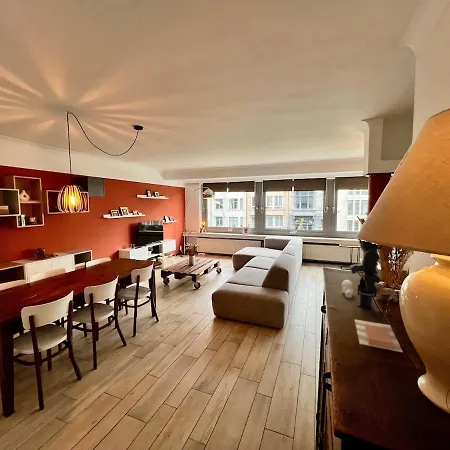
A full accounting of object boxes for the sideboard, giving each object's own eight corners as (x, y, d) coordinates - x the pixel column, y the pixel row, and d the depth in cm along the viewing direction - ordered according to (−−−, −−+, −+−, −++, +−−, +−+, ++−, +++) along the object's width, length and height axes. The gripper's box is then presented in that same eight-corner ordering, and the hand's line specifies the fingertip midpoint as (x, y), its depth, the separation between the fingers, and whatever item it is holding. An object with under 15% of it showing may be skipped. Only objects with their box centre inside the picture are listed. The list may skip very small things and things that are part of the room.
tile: (364, 324, 106) (368, 338, 95) (386, 328, 103) (393, 343, 92) (364, 330, 107) (368, 344, 96) (386, 334, 104) (392, 349, 93)
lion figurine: (370, 298, 145) (371, 283, 144) (369, 295, 150) (370, 281, 149) (400, 303, 139) (401, 287, 138) (398, 299, 143) (399, 284, 143)
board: (354, 321, 117) (354, 319, 117) (389, 327, 111) (389, 325, 111) (359, 346, 96) (359, 343, 96) (402, 354, 91) (403, 352, 91)
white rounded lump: (352, 279, 153) (356, 287, 142) (351, 292, 154) (355, 301, 143) (341, 278, 155) (343, 286, 144) (340, 291, 157) (342, 299, 145)
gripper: (349, 254, 130) (348, 283, 132) (352, 262, 113) (351, 295, 115) (374, 256, 126) (372, 286, 127) (381, 264, 109) (379, 298, 110)
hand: (368, 291), depth 120 cm, fingers closed
